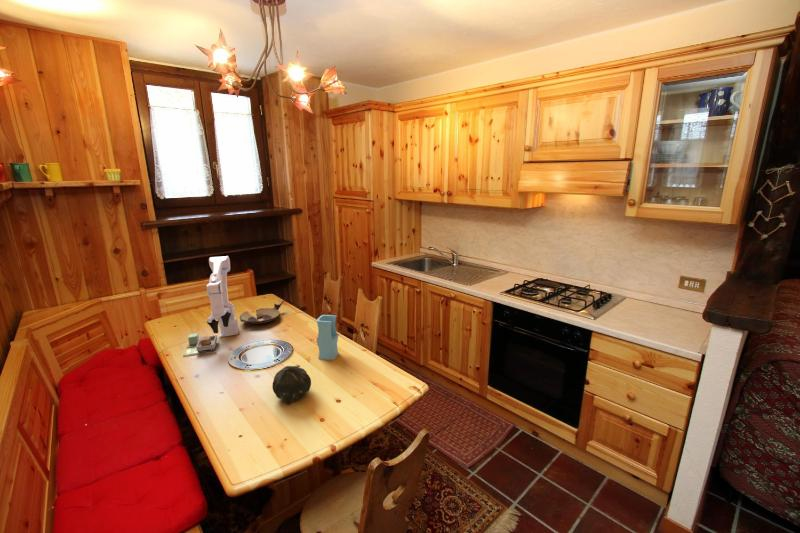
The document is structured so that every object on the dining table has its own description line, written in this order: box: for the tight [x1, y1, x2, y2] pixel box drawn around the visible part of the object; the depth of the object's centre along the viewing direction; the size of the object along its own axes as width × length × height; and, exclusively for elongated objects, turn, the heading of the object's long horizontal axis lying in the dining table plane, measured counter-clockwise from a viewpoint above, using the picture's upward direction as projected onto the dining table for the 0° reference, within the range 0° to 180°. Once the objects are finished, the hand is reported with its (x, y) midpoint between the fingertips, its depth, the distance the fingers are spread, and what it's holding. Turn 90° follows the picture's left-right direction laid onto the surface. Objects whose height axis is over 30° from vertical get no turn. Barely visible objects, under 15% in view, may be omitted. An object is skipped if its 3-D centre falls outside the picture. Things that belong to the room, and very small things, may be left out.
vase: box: [316, 314, 339, 361], centre depth 177 cm, size 8×8×20 cm
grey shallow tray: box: [195, 335, 218, 353], centre depth 188 cm, size 8×11×4 cm
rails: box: [182, 341, 220, 358], centre depth 188 cm, size 15×10×1 cm
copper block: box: [200, 335, 211, 346], centre depth 185 cm, size 4×4×4 cm
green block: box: [187, 332, 200, 346], centre depth 195 cm, size 4×4×4 cm
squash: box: [271, 365, 312, 404], centre depth 147 cm, size 14×15×15 cm
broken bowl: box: [239, 299, 284, 325], centre depth 222 cm, size 22×30×8 cm
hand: (221, 329), depth 189 cm, fingers open, 7 cm apart
